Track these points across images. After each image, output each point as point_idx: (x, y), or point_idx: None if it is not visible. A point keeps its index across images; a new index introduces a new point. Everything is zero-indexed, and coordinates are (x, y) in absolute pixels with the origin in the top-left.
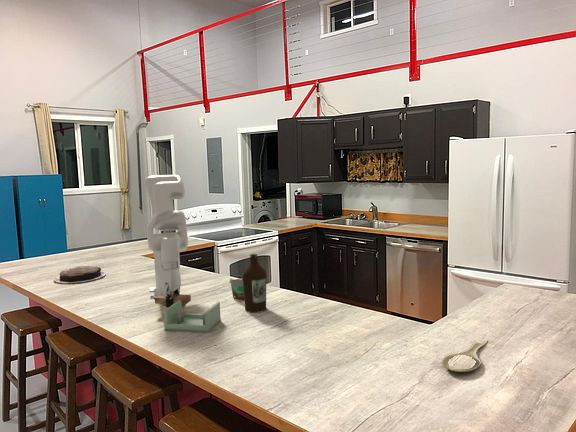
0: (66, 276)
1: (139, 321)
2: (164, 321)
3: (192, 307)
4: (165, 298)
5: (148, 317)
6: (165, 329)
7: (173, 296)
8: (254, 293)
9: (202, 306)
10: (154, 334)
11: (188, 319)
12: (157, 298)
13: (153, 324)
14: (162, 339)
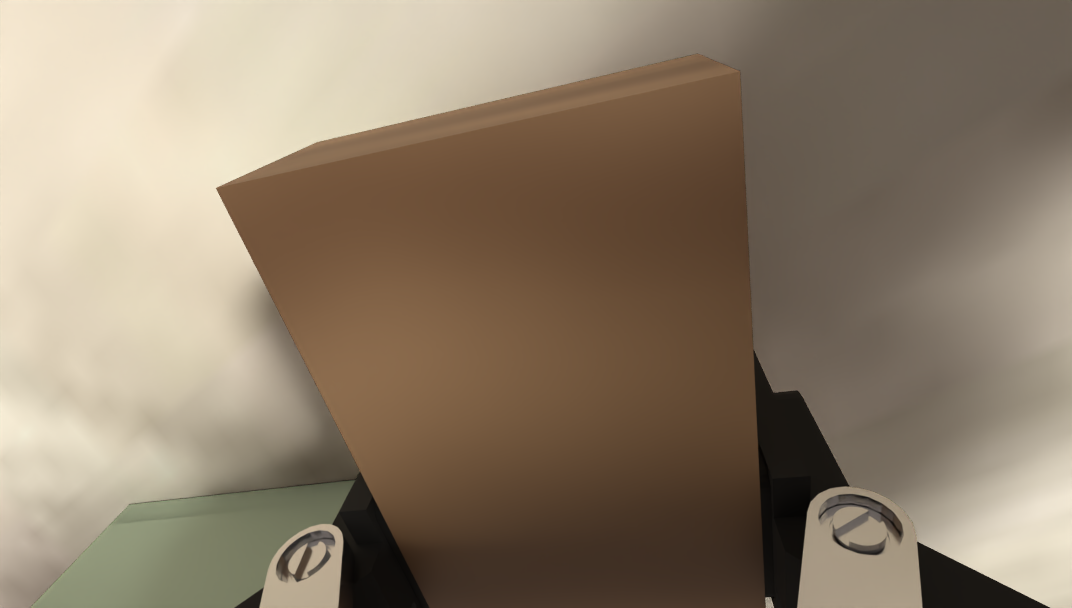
0: None
1: (80, 27)
2: (48, 594)
3: (926, 402)
4: (290, 548)
5: (288, 35)
6: (126, 520)
7: (568, 573)
8: None
9: (978, 492)
10: (11, 475)
11: None
12: (276, 272)
13: (153, 311)
14: (12, 572)
